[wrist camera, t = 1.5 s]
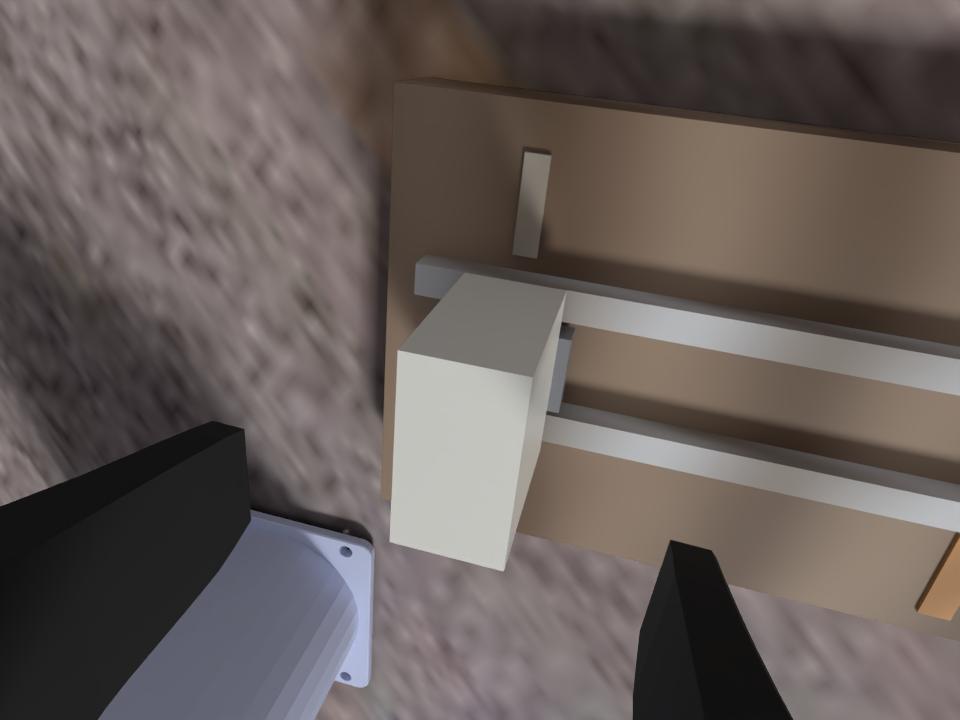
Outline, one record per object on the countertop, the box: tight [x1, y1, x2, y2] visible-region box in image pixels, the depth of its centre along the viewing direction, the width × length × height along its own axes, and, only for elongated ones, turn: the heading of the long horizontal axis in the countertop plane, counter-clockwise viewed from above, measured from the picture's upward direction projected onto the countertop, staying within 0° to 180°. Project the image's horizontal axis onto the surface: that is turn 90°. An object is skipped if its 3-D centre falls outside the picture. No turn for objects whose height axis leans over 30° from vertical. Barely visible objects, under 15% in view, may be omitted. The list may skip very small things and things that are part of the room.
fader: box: [390, 273, 575, 571], centre depth 14 cm, size 3×4×5 cm
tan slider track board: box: [381, 77, 960, 641], centre depth 16 cm, size 20×12×3 cm, turn 85°
